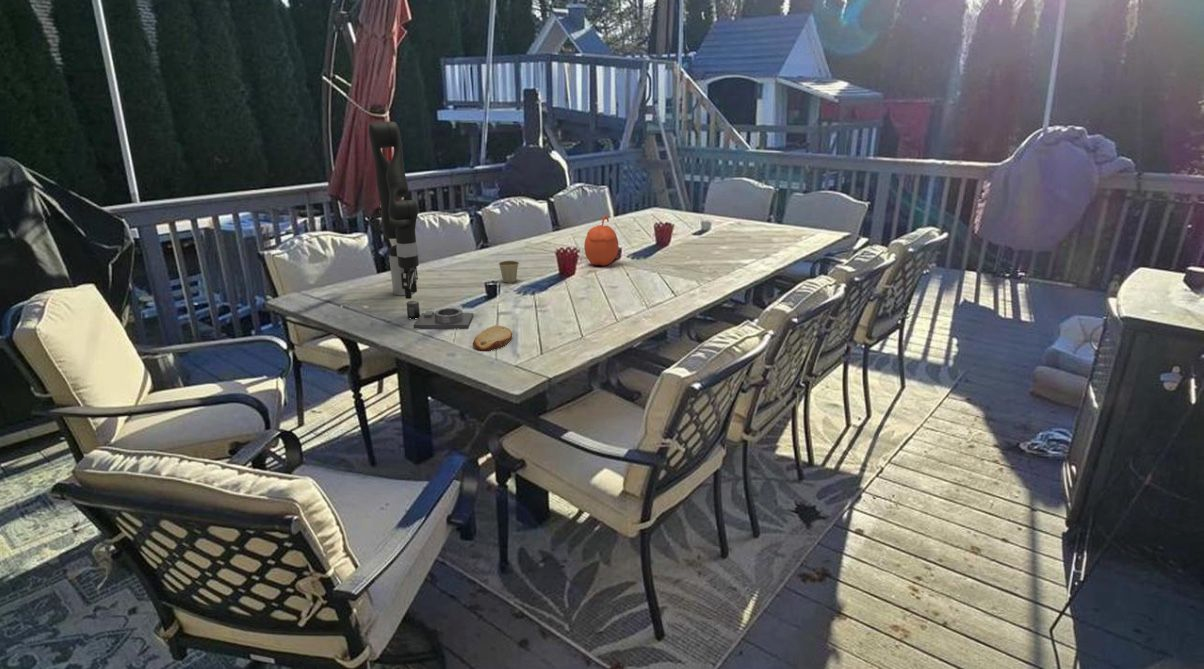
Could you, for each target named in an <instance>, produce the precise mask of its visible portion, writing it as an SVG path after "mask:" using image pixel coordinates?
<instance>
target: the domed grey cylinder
mask: <svg viewBox="0 0 1204 669" xmlns="http://www.w3.org/2000/svg"><path fill="white" fill-rule="evenodd" d="M406 312H407V319H408V318H411V319H410V320H416V319H415V318H419V316H420V315H421V312H420V302H419V301H417V300H409V301H407V302H406Z"/></svg>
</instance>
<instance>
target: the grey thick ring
mask: <svg viewBox="0 0 1204 669" xmlns="http://www.w3.org/2000/svg"><path fill="white" fill-rule="evenodd" d="M463 313H464V312H463V310H462V309H460V308H457V307H446V308H440V309H438V310H435V311H434V314H435V321H436V322H437V323H440V324H453V323H458V322H460V321H462V319H463Z"/></svg>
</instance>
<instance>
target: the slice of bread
mask: <svg viewBox="0 0 1204 669" xmlns="http://www.w3.org/2000/svg"><path fill="white" fill-rule="evenodd" d="M512 335H513V332H512V330H511V329H510V328H508V327H506V326H504V325H492V326H490V327H488V328H486V329H484V330H483V331H481V332H480V333H478V334H477V335H476V336H475V337H474V340H473V341H472V346H473V348H474V349H475V350H476V351H478V352H491V350H492V351H495V350H497V349H498V348H499V349H502V348H504V347H506V346H508V345H509V344H510V343H511V342H512V340H513V338H512ZM510 341H511V342H510ZM509 342H510V343H509ZM508 343H509V344H508ZM507 344H508V345H507ZM505 345H506V346H505ZM503 346H504V347H503ZM501 347H502V348H501ZM494 349H495V350H494ZM499 349H498V350H499Z"/></svg>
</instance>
